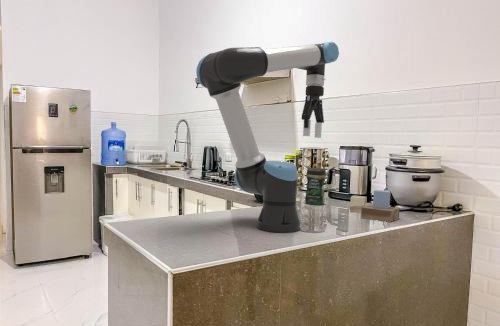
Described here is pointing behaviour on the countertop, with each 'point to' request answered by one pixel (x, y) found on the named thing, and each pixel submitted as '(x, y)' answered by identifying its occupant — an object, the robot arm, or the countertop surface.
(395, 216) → the walnut block
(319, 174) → the coffee jar
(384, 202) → the slate block
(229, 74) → the robot arm
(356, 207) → the birch block
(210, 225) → the countertop surface
